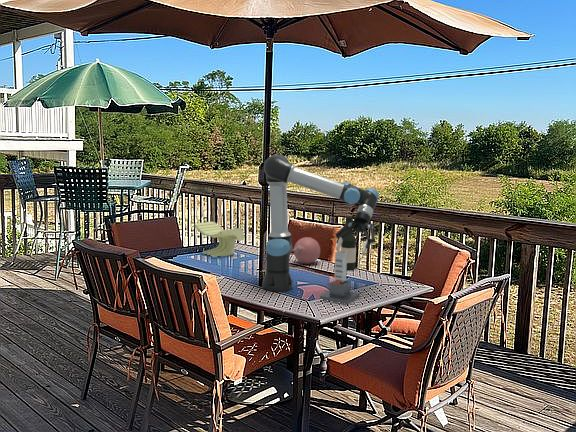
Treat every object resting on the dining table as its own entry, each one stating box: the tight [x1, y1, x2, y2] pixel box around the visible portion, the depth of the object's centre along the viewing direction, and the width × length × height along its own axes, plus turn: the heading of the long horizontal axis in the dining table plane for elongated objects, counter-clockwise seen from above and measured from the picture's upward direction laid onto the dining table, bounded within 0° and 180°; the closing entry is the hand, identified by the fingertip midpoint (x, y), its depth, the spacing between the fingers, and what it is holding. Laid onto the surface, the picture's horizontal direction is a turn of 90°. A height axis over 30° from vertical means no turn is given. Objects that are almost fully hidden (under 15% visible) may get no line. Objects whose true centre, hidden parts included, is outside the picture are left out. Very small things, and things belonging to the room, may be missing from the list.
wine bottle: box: [340, 215, 357, 271], centre depth 327 cm, size 8×8×30 cm
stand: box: [319, 279, 361, 305], centre depth 272 cm, size 14×14×9 cm
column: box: [334, 250, 347, 284], centre depth 271 cm, size 4×4×20 cm
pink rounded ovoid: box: [292, 236, 321, 265], centre depth 337 cm, size 15×20×15 cm
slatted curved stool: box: [194, 221, 245, 258], centre depth 361 cm, size 30×16×18 cm, turn 40°
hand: (350, 251), depth 277 cm, fingers open, 13 cm apart
